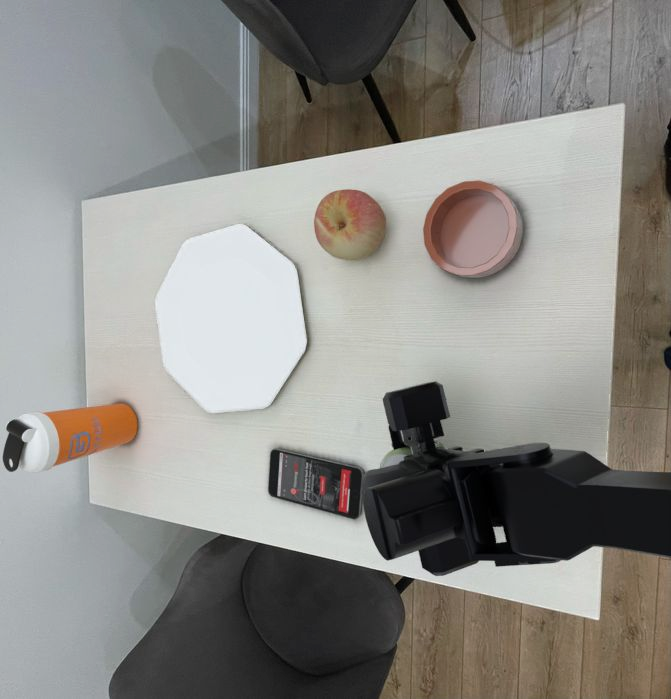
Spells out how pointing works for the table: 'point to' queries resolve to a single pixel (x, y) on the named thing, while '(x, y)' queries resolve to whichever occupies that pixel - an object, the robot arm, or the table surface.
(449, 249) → the bowl
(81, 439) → the shaker bottle
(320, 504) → the smartphone
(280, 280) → the plate
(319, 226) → the apple
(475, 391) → the table surface
